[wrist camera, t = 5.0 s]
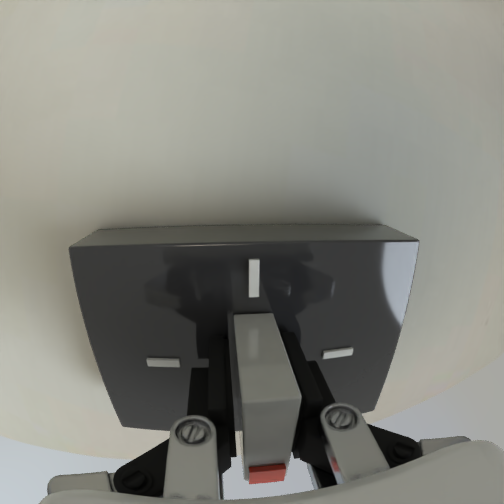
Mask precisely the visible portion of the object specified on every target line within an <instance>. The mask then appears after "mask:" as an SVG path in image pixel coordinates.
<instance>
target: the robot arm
mask: <svg viewBox="0 0 504 504" xmlns="http://www.w3.org/2000/svg"><path fill="white" fill-rule="evenodd" d="M280 335H281V338H282V341H283V344H284V346H285V349H286V352H287V355H288V358H289V361H290V364H291V367H292V370H293V373H294V375H295V378H296V381H297V384H298V387H299V390H300V393H301V396H302V398H301V404H300V410H299V415H298V421H297V426H296V431H295V437H294V442H293V446H292V451H291V452H293V456H294V458H300V460H302V461H304V462H306V463H307V467H308V471H309V474H310V477H311V481H312V484H313V487H314V490H312V491H306V492H301V493H294V494H288V495H281V496H274V497H264V498H252V499H239V500H224V489H223V473H224V472H225V471H226V470H227V469H229V468H230V467H231V457H237V456H236V440H235V423H234V406H233V393H232V380H231V366H230V351H229V339H223V336H210V341H209V367H205V368H192V369H191V376H190V386H189V397H188V408H187V416H184V417H181V418H179V419H178V420H176V421H175V422H174V423H173V425H172V427H171V430H170V437H169V439H167V440H166V441H164V442H162V443H161V444H159V445H158V446H156V447H154V448H153V449H151V450H149V451H148V452H146V453H144V454H143V455H141V456H139V457H137V458H136V459H134V460H132V461H130V462H129V463H127V464H125V465H123V466H122V467H120V468H119V469H118V470H117V471H116V472H115V473H108V472H107V471H104V472H96V473H85V474H71V475H58V476H55V477H53V478H52V479H51V480H50V481H49V483H48V488H47V492H48V496H46V497H45V498H43V500H42V501H41V502H40V503H39V504H504V451H503V450H502V449H501V448H500V447H498V446H497V445H496V444H494V443H492V442H489V441H482V440H477V441H476V440H475V441H471V440H470V439H469V438H467V437H464V436H457V437H447V438H436V439H422V440H420V441H419V442H416V441H414V440H413V439H411V438H409V437H406V436H402V435H399V434H396V433H393V432H390V431H387V430H384V429H381V428H378V427H375V426H372V425H370V424H367V423H366V421H365V419H364V418H363V416H362V414H361V412H360V411H359V410H358V408H356V407H355V406H353V405H351V404H348V403H342V402H339V403H336V402H335V399H334V397H333V395H332V393H331V391H330V389H329V387H328V385H327V382H326V380H325V378H324V376H323V374H322V372H321V370H320V368H319V366H318V363H317V362H316V361H315V360H313V361H307V360H306V358H305V355H304V353H303V351H302V348H301V346H300V344H299V342H298V339H297V337H296V335H295V333H294V332H284V333H280Z"/></svg>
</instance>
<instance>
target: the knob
mask: <svg viewBox="0 0 504 504" xmlns="http://www.w3.org/2000/svg"><path fill="white" fill-rule="evenodd" d="M233 324H234V357H235V385H236V404H237V415H238V426H239V437H240V447H241V456H242V465H243V475H244V479H245V480H247V481H248V480H249V484H256V483H268V482H277V481H284V477H285V476H286V474H287V470H288V465H289V461H290V456H291V451H292V446H293V442H294V437H295V431H296V426H297V421H298V415H299V410H300V404H301V398H302V396H301V393H300V390H299V387H298V384H297V381H296V378H295V375H294V373H293V370H292V367H291V364H290V361H289V358H288V355H287V352H286V349H285V346H284V344H283V341H282V338H281V335H280V332H279V329H278V326H277V323H276V320H275V317H274V315H273V313H262V314H238V315H234V317H233Z"/></svg>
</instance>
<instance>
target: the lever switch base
mask: <svg viewBox="0 0 504 504" xmlns="http://www.w3.org/2000/svg"><path fill="white" fill-rule="evenodd" d="M418 248H419V240H418V239H416V238H414V237H411V236H409V235H407V234H405V233H402V232H400V231H398V230H396V229H393V228H391V227H389V226H386V225H353V224H260V225H205V226H171V227H144V228H121V229H101V230H97V231H95V232H93V233H92V234H90V235H88V236H87V237H85V238H83V239H82V240H80V241H78V242H77V243H75V244H73V245H72V246H70V247H69V254H70V260H71V266H72V271H73V276H74V281H75V286H76V291H77V295H78V300H79V304H80V308H81V312H82V316H83V319H84V323H85V327H86V330H87V334H88V337H89V341H90V344H91V347H92V350H93V353H94V356H95V359H96V362H97V365H98V368H99V371H100V374H101V376H102V379H103V382H104V384H105V387H106V390H107V392H108V395H109V397H110V399H111V402H112V404H113V407H114V409H115V411H116V414H117V416H118V418H119V420H120V422H121V425H122V426H123V427H130V428H139V429H150V430H163V431H170V430H171V427H172V425H173V423H174V422H175V421H176V420H178V419H179V418H181V417H184V416H187V408H188V397H189V386H190V376H191V369H192V368H205V367H209V341H210V336H223V339H229V351H230V366H231V380H232V393H233V406H234V423H235V431H239V426H238V415H237V404H236V385H235V357H234V324H233V317H234V315H238V314H262V313H273V315H274V317H275V320H276V323H277V326H278V329H279V332H280V333H284V332H294V333H295V335H296V337H297V339H298V342H299V344H300V346H301V348H302V351H303V353H304V355H305V358H306V360H307V361H313V360H315V361H316V362H317V363H318V366H319V368H320V370H321V372H322V374H323V376H324V378H325V380H326V382H327V385H328V387H329V389H330V391H331V393H332V395H333V397H334V399H335V402H336V403H339V402H342V403H348V404H351V405H353V406H355V407H356V408H358V410H359V411H360V412H361V414H362V413H366V412H370V411H373V410H374V409H375V406H376V404H377V401H378V399H379V396H380V393H381V391H382V388H383V385H384V382H385V380H386V377H387V374H388V371H389V368H390V365H391V362H392V359H393V356H394V353H395V349H396V346H397V343H398V339H399V336H400V332H401V329H402V325H403V321H404V317H405V313H406V309H407V305H408V301H409V296H410V292H411V287H412V282H413V277H414V272H415V266H416V261H417V255H418Z"/></svg>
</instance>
